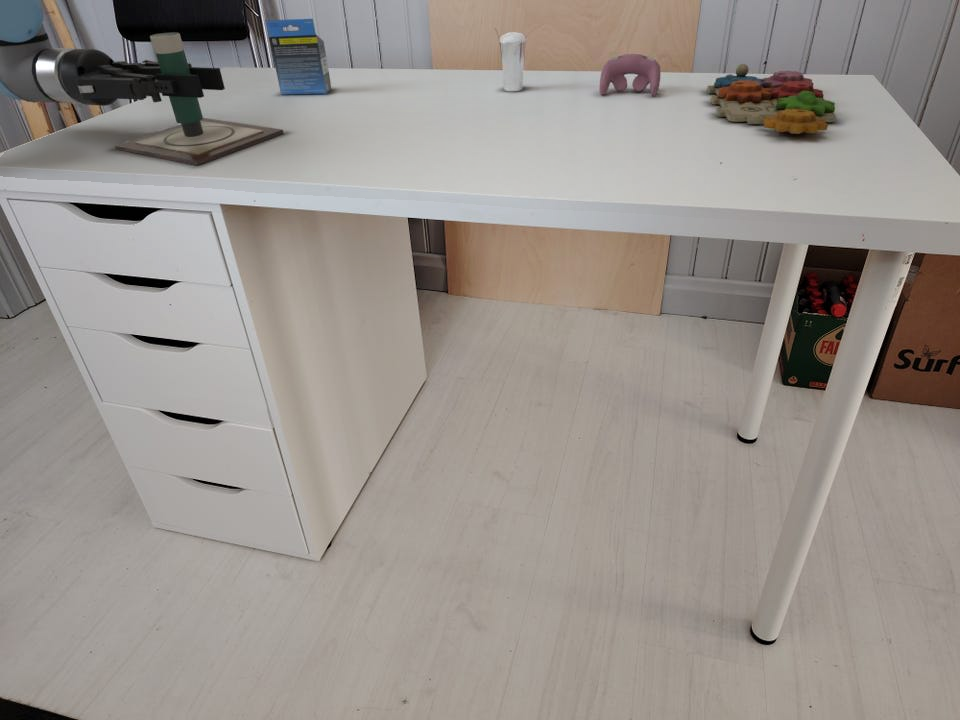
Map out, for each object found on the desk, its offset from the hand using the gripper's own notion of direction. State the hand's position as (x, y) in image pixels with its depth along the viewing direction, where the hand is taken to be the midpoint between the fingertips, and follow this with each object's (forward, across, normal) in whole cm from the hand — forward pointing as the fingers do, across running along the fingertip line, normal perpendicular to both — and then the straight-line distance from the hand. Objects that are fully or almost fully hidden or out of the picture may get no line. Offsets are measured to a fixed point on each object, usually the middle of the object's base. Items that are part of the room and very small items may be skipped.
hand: (209, 82), depth 87 cm
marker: (-5, 0, -7) cm, 9 cm away
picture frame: (-7, -2, -9) cm, 11 cm away
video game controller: (+49, -43, -9) cm, 66 cm away
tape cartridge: (-8, -33, -9) cm, 35 cm away
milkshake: (+29, -42, -9) cm, 51 cm away
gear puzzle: (+72, -35, -10) cm, 81 cm away
